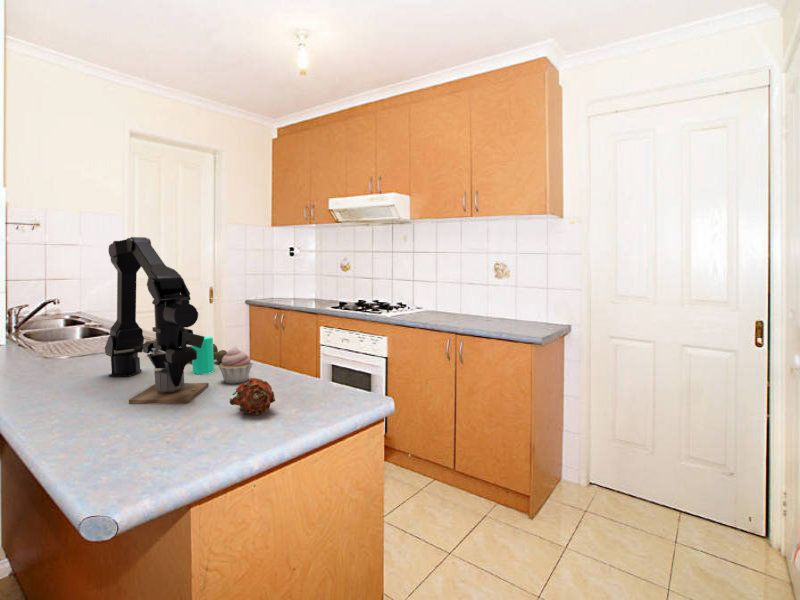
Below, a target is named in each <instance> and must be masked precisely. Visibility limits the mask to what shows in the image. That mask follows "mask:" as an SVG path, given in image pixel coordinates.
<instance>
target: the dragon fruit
mask: <svg viewBox="0 0 800 600" xmlns="http://www.w3.org/2000/svg"><path fill="white" fill-rule="evenodd" d="M274 393H275V392H274V391H273V389H272V386H271V385H270V383H268V381H266V380H263V379H260V378H256V377H255V378H254V377H250V378H248V380H247V381H246V382H243V383H239V385H238V386H237V387H236V388H235V391H234V392H233V393H232V396H234V397H231V398H229V404H230V405H231V406H238V407H239V411H240V412H241V413H243V414H244V415H245V414H249V413H250V414H251V415H259V416H260V415H262V414H263V413H264V412H267V411H268V410H269V409H270V408H271V404H273V403H274V402H275V401H276V397H275V394H274Z"/></svg>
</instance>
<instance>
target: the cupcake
mask: <svg viewBox="0 0 800 600" xmlns="http://www.w3.org/2000/svg"><path fill="white" fill-rule="evenodd" d="M226 352H227V354H226V355H225V356H224V357H223V358H222V363H219V365H218V369H219V370H220V371H221V374H222V378H223V381H224V383H225V384H231V385H236V383H238V384H243V383H246V382H248V381H249V377H250V372H251V369H252V367H253V365H254V363H253V362H251V358H250V356H248V354H247V353H246V352H245V351H243V350H239V348H238V346H233V347H231V348H230V349H228V351H226ZM245 381H246V382H245Z"/></svg>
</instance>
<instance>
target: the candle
mask: <svg viewBox="0 0 800 600" xmlns="http://www.w3.org/2000/svg"><path fill="white" fill-rule="evenodd" d="M203 336H204V335H203ZM213 344H214V338H213V337H212V336H204V341H203V344H202V347H201V348H198V347H196V346H192V348H194V349H195V350H196V351H197V359H196V360H192V364H191V365H192V373H193V374H194V373H196V374H195V375H204V373H207V374H210V373H209V372H211V373H213V372H215V365H214V364H215V362H214V360H215V359H214V356H213ZM212 371H213V372H212Z"/></svg>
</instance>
